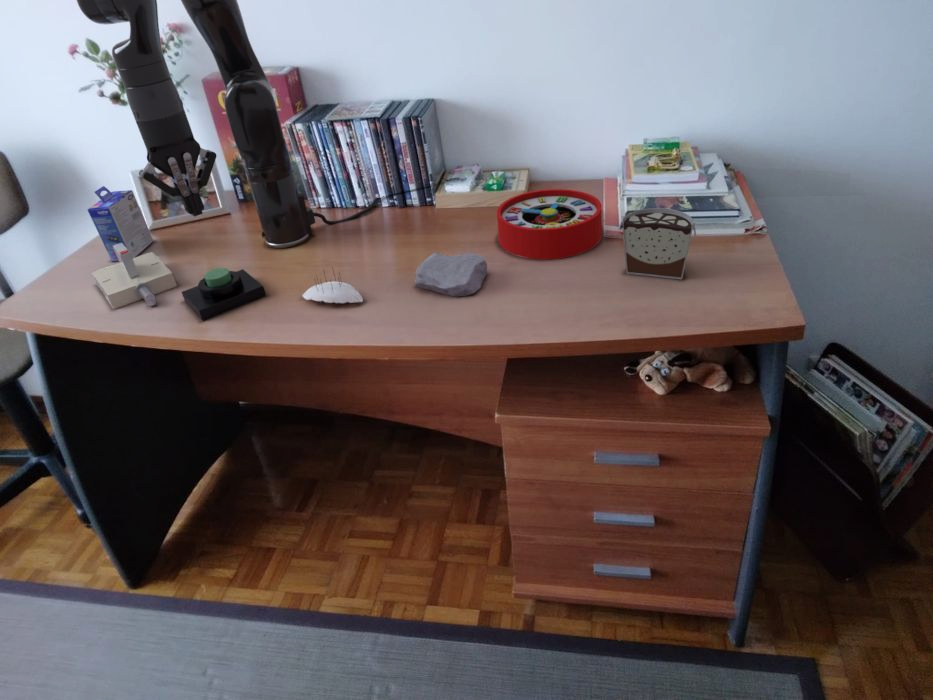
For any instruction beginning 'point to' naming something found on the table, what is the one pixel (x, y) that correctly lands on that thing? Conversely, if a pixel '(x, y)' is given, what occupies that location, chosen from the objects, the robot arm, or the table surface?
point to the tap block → (133, 280)
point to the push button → (217, 277)
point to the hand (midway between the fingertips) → (196, 214)
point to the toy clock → (549, 223)
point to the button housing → (223, 295)
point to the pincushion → (333, 292)
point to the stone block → (452, 274)
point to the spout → (145, 293)
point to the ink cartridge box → (120, 222)
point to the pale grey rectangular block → (126, 260)
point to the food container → (657, 242)
